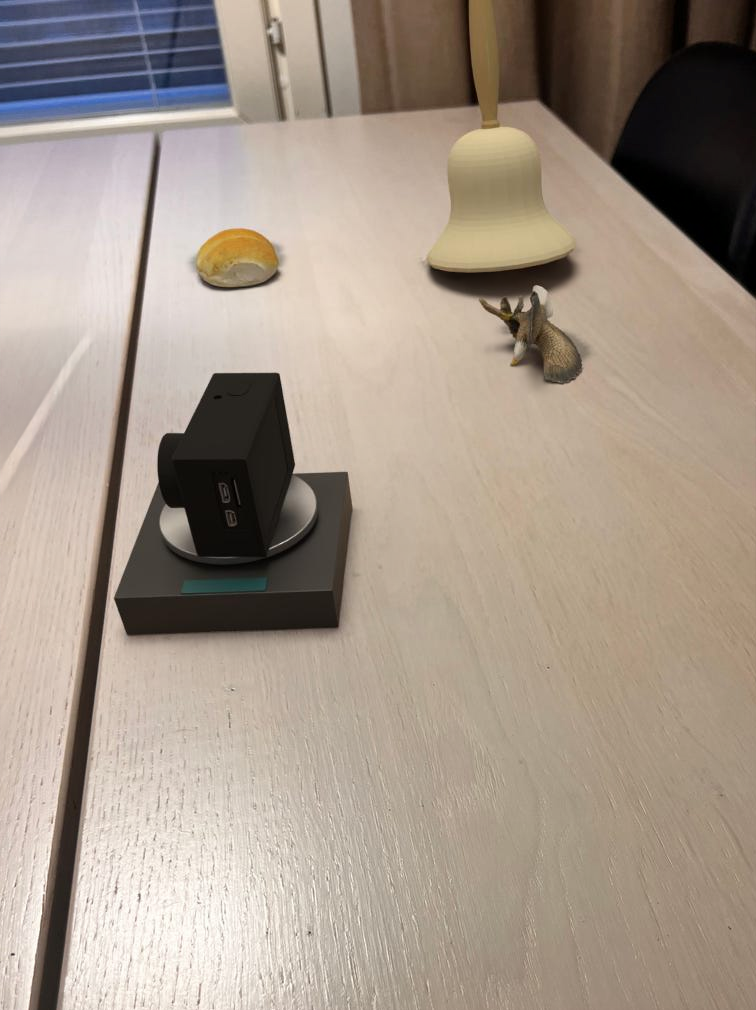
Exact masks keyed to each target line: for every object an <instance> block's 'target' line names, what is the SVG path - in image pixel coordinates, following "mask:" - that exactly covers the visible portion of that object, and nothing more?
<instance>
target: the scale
mask: <svg viewBox="0 0 756 1010" xmlns="http://www.w3.org/2000/svg"><path fill="white" fill-rule="evenodd" d="M292 475H294V476H296V477H298V478H300V479H302V480H303V481H304V482H306V483H307V484H308V485H309V486H310V487H311V489H312V490H313V491H314V494H315V496H316V500H317V506H318V514H317V518H316V521H315V523H314V525H313V527H312V528H311V529H310V531H309V532H308V533H307V534H306V535H305V536H304V537H303V538H302V539H301V540H300V541H298V542H297V543H296V544H294V545H293V546H291V547H289V548H288V549H286V550H284V551H282V552H280V553H277V554H275V555H272V556H270V557H267V558H264V559H260V560H256V561H252V562H247V563H240V564H229V565H217V564H207V563H201V562H196V561H193V560H190V559H187V558H185V557H182V556H180V555H179V554H177V553H175V552H174V551H173V550H172V549H170V548H169V547H168V545H167V544H166V543H165V541H164V539H163V537H162V534H161V531H160V527H159V519H160V515H161V512H162V510H163V508H164V506H165V505H166V503H165V501H164V499H163V497H162V494H161V490H160V487H159V481H157V482H158V483H157V484H156V488H155V490H154V493H153V495H152V499H151V500H150V503H149V506H148V508H147V511H146V514H145V516H144V518H143V522H142V523H141V526H140V529H139V532H138V533H137V536H136V539H135V542H134V545H133V547H132V550H131V552H130V555H129V556H128V557H129V558H128V560H127V563H126V566H125V568H124V570H123V573H122V576H121V579H120V580H119V583H118V586H117V589H116V591H115V594H114V597H113V600H114V603H115V607H116V609H117V612H118V615H119V617H120V621H121V623H122V626H123V629H124V631H125V634H126V636H144V635H146V636H149V635H168V634H169V635H171V634H173V635H174V634H177V635H178V634H201V633H227V632H228V633H230V632H258V631H282V630H283V631H285V630H310V629H311V630H312V629H314V630H315V629H337V628H339V624H340V618H341V609H342V608H341V607H342V601H343V600H342V599H343V591H344V581H345V574H346V565H347V556H348V548H349V539H350V533H351V532H350V530H351V522H352V515H353V501H352V493H351V487H350V486H351V485H350V478H349V472H348V471H327V472H323V471H322V472H301V473H300V472H299V473H297V472H296V473H295V472H294V473H293V474H292Z"/></svg>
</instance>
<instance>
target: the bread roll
mask: <svg viewBox="0 0 756 1010" xmlns="http://www.w3.org/2000/svg"><path fill="white" fill-rule="evenodd" d="M279 263H280V261H279V258H278V255H277V252H276V249H275V247H274V245H273V243H272V242H271V241H270V240H269V239H268V238H267V237H266V236H264V235H263V234H261V233H259V232H258V231H256V230H254V229H249V228H244V227H240V228H228V229H223V230H221V231H219V232H217V233H215V234H214V235H212V236H211V237H209V238H208V239H207V240H206V241H205V242H204V243H203V244H202V245H201V246H200V248H199V250H198V252H197V254H196V257H195V268H196V270H197V272H198V275H199V276H200V277H201V279H203V280H204V281H205V282H206V283H208V284H210V285H212V286H215V287H220V288H240V287H252V286H256V285H261V284H263V283H266V281H268V280H269V279H271V278H272V277H273V276H274V275H275V274H276V272H277V270H278V267H279Z"/></svg>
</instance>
